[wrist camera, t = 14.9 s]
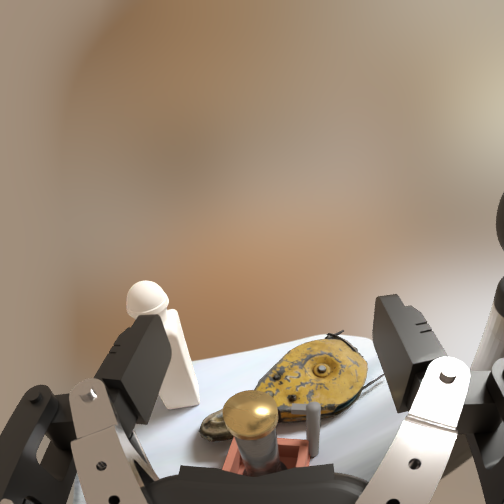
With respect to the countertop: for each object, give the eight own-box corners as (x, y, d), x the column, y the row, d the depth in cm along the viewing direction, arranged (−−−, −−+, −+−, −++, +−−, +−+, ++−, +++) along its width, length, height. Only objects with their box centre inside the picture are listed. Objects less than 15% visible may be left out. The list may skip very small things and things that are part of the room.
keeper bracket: (318, 447, 35) (321, 401, 30) (307, 517, 25) (309, 489, 21) (240, 441, 38) (226, 394, 33) (218, 505, 28) (194, 472, 24)
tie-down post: (292, 464, 32) (286, 389, 26) (284, 500, 27) (275, 438, 21) (250, 459, 34) (228, 384, 28) (239, 493, 29) (209, 429, 23)
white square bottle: (203, 406, 44) (162, 290, 36) (164, 412, 44) (113, 300, 35) (200, 379, 50) (165, 268, 42) (164, 385, 50) (121, 277, 41)
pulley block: (177, 384, 41) (342, 314, 52) (185, 404, 44) (337, 337, 55) (214, 465, 30) (397, 364, 41) (221, 477, 33) (387, 385, 44)
